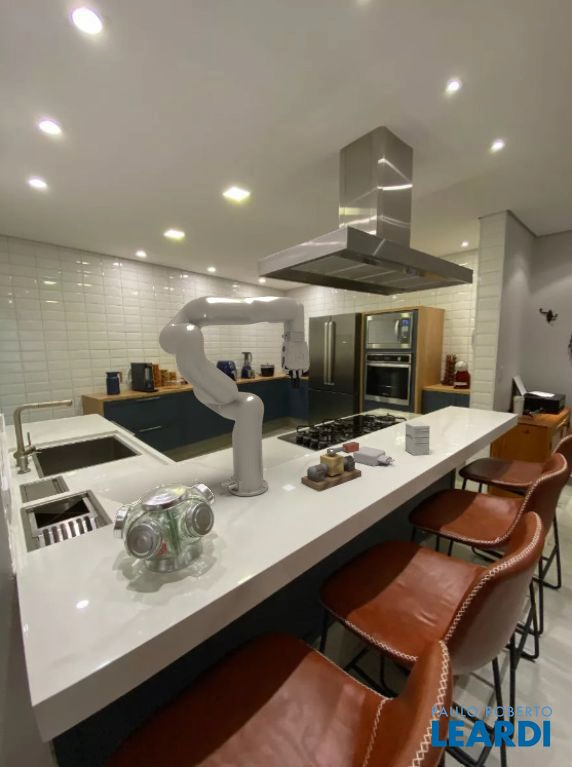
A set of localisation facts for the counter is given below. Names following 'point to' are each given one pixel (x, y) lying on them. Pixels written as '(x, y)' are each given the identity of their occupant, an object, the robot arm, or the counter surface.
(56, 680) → the counter surface
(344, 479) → the pipe board
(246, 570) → the counter surface
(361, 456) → the charger
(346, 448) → the valve lever
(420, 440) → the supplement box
